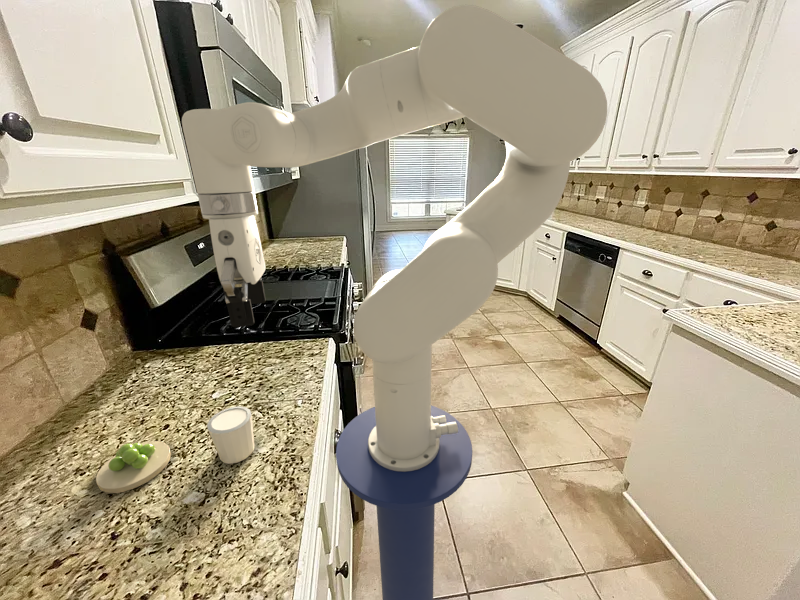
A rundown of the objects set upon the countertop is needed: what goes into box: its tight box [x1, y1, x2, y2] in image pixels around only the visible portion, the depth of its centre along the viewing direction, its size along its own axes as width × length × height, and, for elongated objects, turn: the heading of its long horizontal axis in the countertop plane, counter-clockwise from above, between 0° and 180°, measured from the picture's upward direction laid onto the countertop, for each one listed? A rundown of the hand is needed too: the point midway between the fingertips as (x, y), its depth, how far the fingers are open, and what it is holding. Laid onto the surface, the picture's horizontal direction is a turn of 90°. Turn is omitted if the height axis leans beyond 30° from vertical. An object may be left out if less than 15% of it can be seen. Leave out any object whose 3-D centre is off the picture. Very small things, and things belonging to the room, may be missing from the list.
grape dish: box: [95, 440, 172, 494], centre depth 57 cm, size 10×10×5 cm
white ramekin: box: [206, 406, 255, 465], centre depth 59 cm, size 7×7×7 cm
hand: (250, 313), depth 56 cm, fingers open, 9 cm apart
